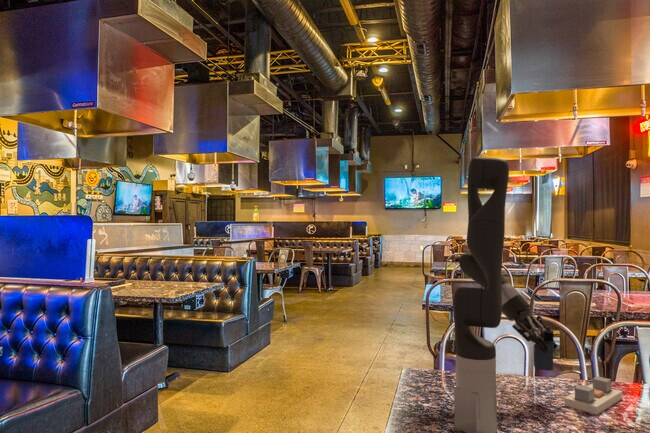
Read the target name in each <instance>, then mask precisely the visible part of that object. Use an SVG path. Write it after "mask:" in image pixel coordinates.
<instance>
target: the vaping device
mask: <svg viewBox="0 0 650 433" xmlns="http://www.w3.org/2000/svg"><path fill="white" fill-rule="evenodd" d="M553 341H554V330H553V329H552V327H551V326H547V329H546V330H544V342H545V343H546V344H547V345H548V347H549V348H550V350H549V351H548V352H546V353H543V352H542V351H541V350H540V349H539V347H538V346H537V345H536V344H535V343H534V344H533V366H534V369H535V370H537V371H547V372H548V371H554V351H555V349H554V344H553Z"/></svg>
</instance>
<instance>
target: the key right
mask: <svg viewBox="0 0 650 433" xmlns="http://www.w3.org/2000/svg"><path fill="white" fill-rule="evenodd" d="M592 384H593V388H594V389H596V390H600V391H604V392H608V391H609V390H611V389H612V379H611V378H606V377H602V376H597V375H596V376H594V377H593V378H592Z"/></svg>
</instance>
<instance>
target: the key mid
mask: <svg viewBox="0 0 650 433" xmlns="http://www.w3.org/2000/svg"><path fill="white" fill-rule="evenodd" d="M594 397H595V398H599V399H600V398H601V397H603V391H600V390H596V389H594Z"/></svg>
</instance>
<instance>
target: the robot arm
mask: <svg viewBox="0 0 650 433" xmlns="http://www.w3.org/2000/svg"><path fill="white" fill-rule="evenodd" d="M509 177H510V164H509V161H508V160H507V159H505V158H503V157H489V156H487V157H486V156H474V157H472V158H471V159H470V162H469V165H468V169H467V210H468V211H467V212H468V213H467V214H468V219H467V220H468V221H467V231H466V246H467V248H468V252H465V253H463V254H462V255H461V256H459V258H458V265H459V268H460V269H461V272H463V273H464V274H465V275H466V276H467V277H469V278H470V279H472V281H474V283H477V284H478V285H479V286H481V287H462V286H461V287H458V288H456V290H455V292H454V294H453V302H452V303H453V304H452V305H453V306H452V307H453V320H454V321H453V322H454V343H455V344H454V345H455V387H454V388H453V407H454V409H453V411H454V412H453V414H454V416H453V417H454V422H453V423H454V424H453V425H454V428H455V430H458V431H461V432H464V433H497V432H498V410H497V408H498V405H497V404H498V403H497V402H498V401H497V398H498V397H497V350H496V345H495V344H494V343H493V342H492V341H490V340H488V339H485V338H484V337H481V335H478V334H477V333H475V332H474V331H473V330H472V328H471V327H473V328H474V327H476V328H487V329H497V328H498V327H499V325H500V323H501V320H502V315H504V316H505V317H506V318H507V320H508V321H509V322H513V321H514V324H512V325H511V327H512V328H513V329H514V330H515V331H516V332H517V333H518V334H519V335H520V336H521V337H523V339H524V340H525V341H527V343H529V342H532V343H534V344H536V345H537V346H538V347H539V349H540V350H541V351H542V352H543V353H546V352H548V351H549V350H550V348H549V347H548V345H547V344H546V343H545V342H544V330H546V329H547V327H548V325H547V323H546V322H545V320H544V319H543V318H542V316H541V315H537V316H535V315H534V314H533V313H531V312H530V310H531V304H530V303H529V302H528V301H527V300H526V299H525V298H524V297H523V296H522V295H521V294H520V292H519V291H518V290H517V289H516V288H515V287H514V286H513V285H512V284H511V283H510V282H509V281H508V280H507V279H506V277H505V276H504V275H503V274H502V273H503V271H502V270H503V258H504V244H505V232H506V231H505V228H506V224H505V222H506V220H505V219H506V217H505V216H506V200H507V192H508V184H509ZM479 189H482V190H493V192H492V193H491V195H490V197H489V198H488V199H487V201H486V202H485V203H482V200H481V198H480V195H479ZM502 313H503V314H502ZM553 344H554V350H556V349H557V348H558V344H557V343H556V342H555V341H554V340H553Z"/></svg>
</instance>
